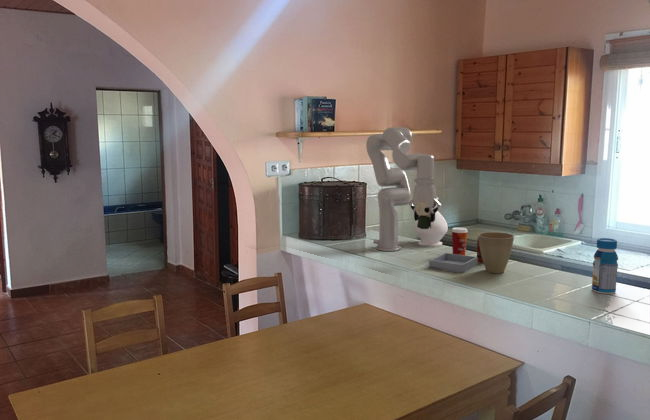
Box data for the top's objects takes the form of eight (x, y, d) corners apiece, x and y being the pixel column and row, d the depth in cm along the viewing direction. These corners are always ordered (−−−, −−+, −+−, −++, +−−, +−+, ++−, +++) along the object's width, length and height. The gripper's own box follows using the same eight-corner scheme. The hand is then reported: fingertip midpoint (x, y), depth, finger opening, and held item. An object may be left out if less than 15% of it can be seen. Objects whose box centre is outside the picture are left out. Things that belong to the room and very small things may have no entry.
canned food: (475, 261, 258) (475, 238, 256) (478, 258, 265) (479, 235, 263) (491, 263, 254) (492, 240, 253) (495, 259, 261) (496, 236, 260)
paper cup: (463, 259, 262) (463, 230, 260) (447, 257, 266) (448, 228, 264) (469, 256, 268) (470, 228, 266) (454, 254, 272) (455, 226, 270)
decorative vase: (453, 243, 298) (455, 197, 294) (433, 248, 286) (434, 200, 282) (427, 239, 311) (428, 194, 307) (406, 243, 299) (407, 197, 295)
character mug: (422, 231, 248) (422, 202, 246) (410, 229, 253) (410, 201, 251) (438, 228, 255) (438, 200, 253) (426, 226, 260) (426, 199, 258)
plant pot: (498, 265, 250) (500, 231, 248) (519, 273, 236) (521, 237, 234) (470, 268, 246) (471, 233, 243) (489, 277, 232) (491, 239, 229)
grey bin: (428, 267, 247) (429, 260, 247) (445, 260, 261) (445, 252, 261) (462, 273, 238) (462, 265, 238) (477, 264, 252) (477, 257, 252)
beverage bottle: (608, 296, 204) (612, 242, 202) (586, 290, 211) (590, 239, 208) (620, 292, 209) (624, 239, 206) (598, 287, 216) (601, 236, 213)
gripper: (404, 181, 253) (403, 220, 256) (439, 183, 243) (438, 224, 245) (411, 180, 259) (411, 218, 262) (446, 182, 249) (445, 221, 251)
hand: (424, 220), depth 253 cm, fingers closed on character mug, 7 cm apart
